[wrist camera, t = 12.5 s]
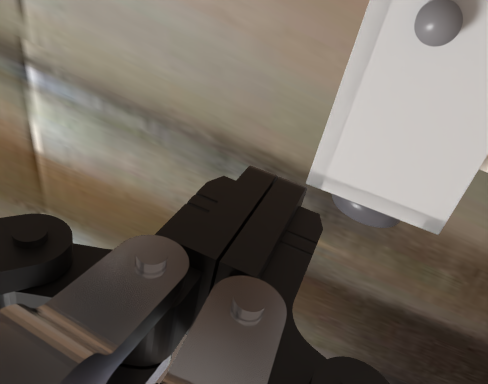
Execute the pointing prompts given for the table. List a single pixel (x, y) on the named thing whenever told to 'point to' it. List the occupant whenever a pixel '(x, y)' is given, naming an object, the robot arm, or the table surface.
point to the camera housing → (408, 114)
